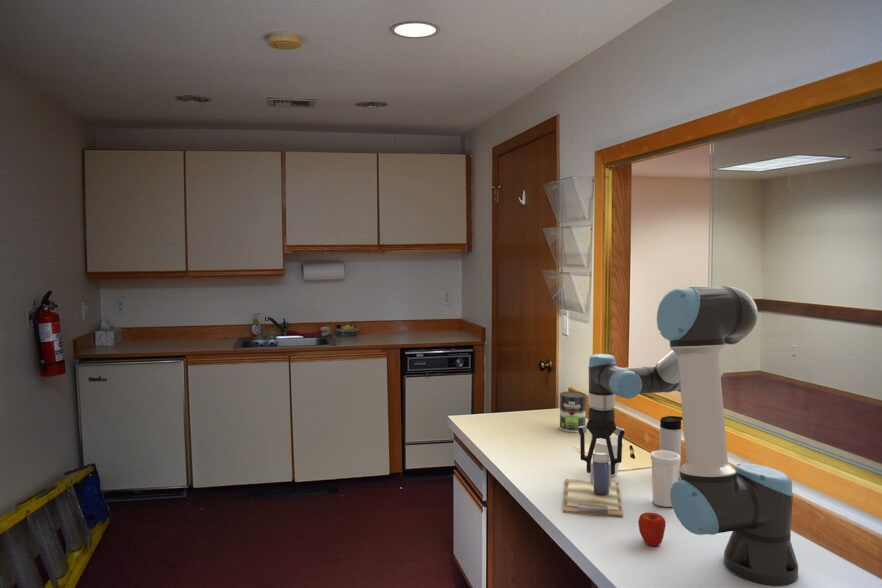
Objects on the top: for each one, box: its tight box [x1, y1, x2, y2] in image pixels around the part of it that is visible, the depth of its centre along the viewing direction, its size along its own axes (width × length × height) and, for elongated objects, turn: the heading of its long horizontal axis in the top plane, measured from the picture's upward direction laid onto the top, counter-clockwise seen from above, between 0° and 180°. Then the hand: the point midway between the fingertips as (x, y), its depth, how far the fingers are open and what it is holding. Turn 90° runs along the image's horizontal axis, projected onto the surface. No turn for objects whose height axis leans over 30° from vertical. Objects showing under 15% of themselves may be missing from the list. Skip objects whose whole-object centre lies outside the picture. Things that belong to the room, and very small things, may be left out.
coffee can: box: [559, 390, 587, 433], centre depth 252 cm, size 10×10×14 cm
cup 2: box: [650, 449, 680, 508], centre depth 179 cm, size 8×8×14 cm
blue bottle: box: [592, 452, 609, 494], centre depth 186 cm, size 5×5×11 cm
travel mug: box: [659, 415, 683, 480], centre depth 198 cm, size 6×7×20 cm
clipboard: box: [562, 478, 624, 519], centre depth 184 cm, size 24×16×2 cm, turn 167°
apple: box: [637, 511, 667, 547], centre depth 156 cm, size 6×6×8 cm
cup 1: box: [594, 435, 625, 477], centre depth 203 cm, size 10×10×11 cm
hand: (600, 483), depth 188 cm, fingers closed on blue bottle, 4 cm apart
